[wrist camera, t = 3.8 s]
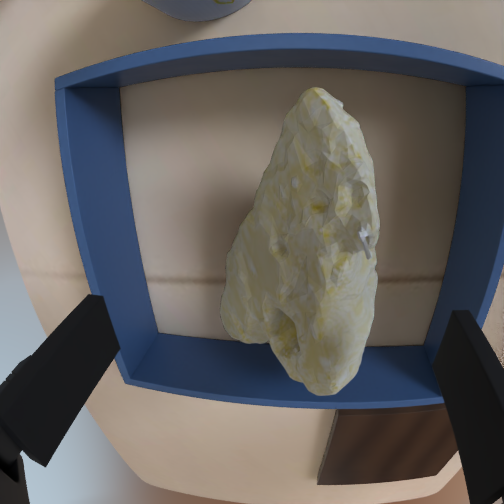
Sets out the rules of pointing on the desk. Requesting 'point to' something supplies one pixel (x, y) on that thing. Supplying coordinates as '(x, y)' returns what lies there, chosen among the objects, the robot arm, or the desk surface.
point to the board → (387, 445)
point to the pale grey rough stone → (309, 249)
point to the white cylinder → (197, 8)
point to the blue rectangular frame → (261, 355)
